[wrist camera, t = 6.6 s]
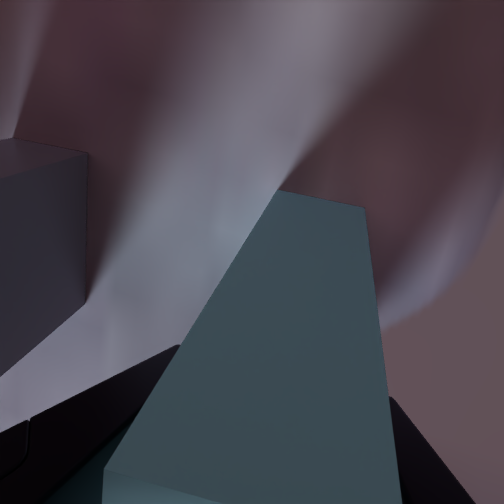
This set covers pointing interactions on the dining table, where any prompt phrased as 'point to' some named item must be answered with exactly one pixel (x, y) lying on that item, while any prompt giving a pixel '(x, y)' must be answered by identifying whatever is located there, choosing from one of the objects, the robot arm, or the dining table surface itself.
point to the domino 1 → (39, 243)
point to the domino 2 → (273, 378)
